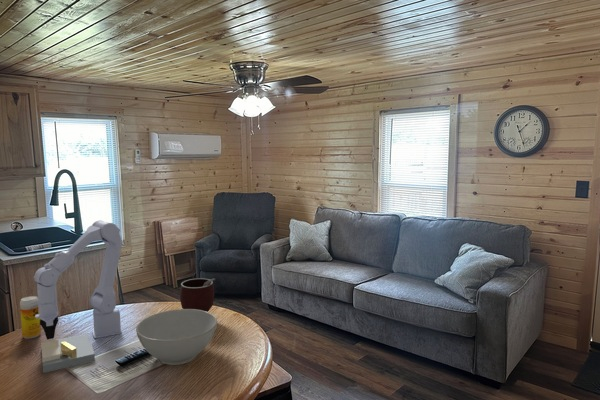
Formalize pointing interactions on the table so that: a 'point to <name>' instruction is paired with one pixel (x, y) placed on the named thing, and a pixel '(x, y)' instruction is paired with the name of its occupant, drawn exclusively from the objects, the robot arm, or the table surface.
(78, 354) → the grey flat rectangular board
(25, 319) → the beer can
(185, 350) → the decorative bowl
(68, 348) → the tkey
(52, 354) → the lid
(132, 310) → the table surface
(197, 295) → the mate gourd
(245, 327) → the table surface
